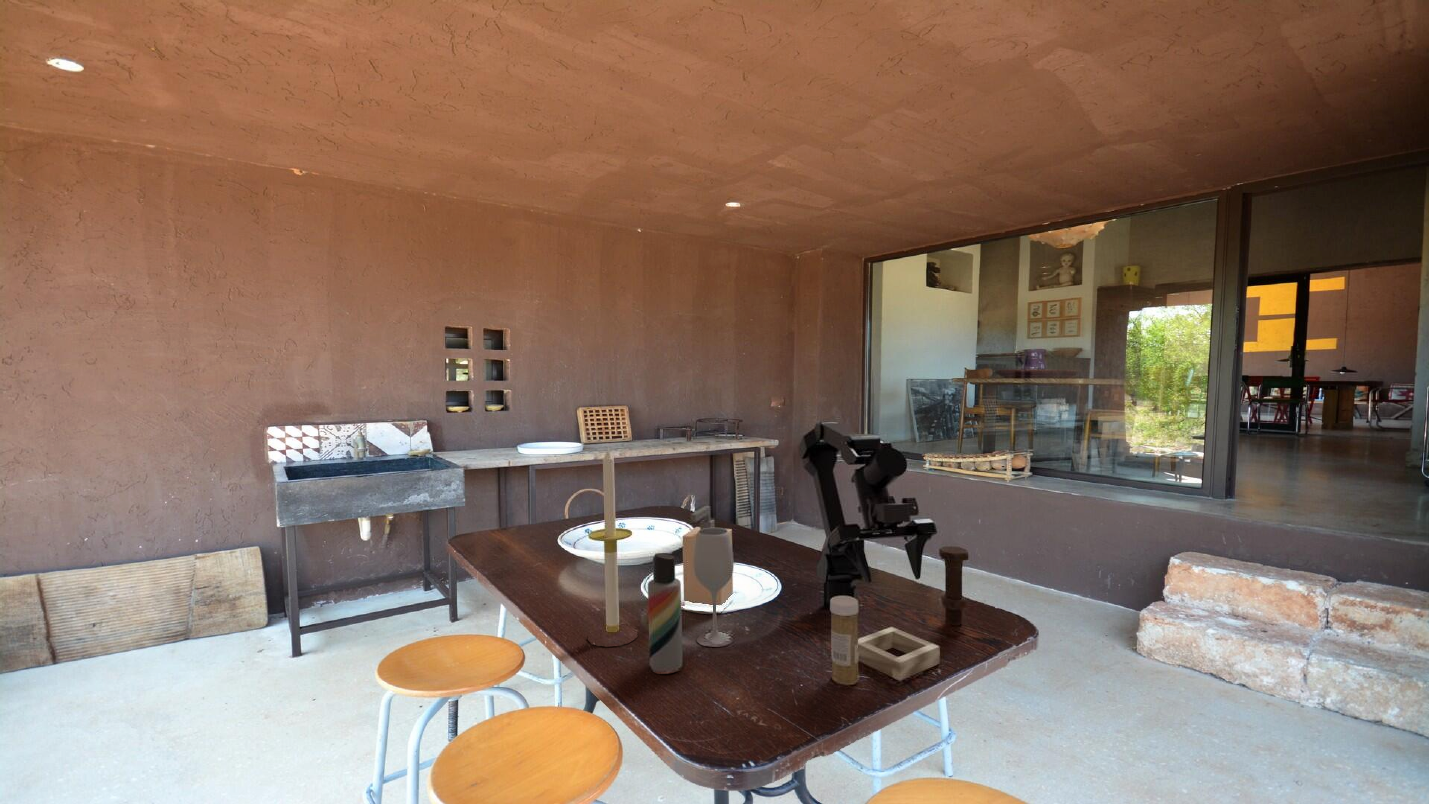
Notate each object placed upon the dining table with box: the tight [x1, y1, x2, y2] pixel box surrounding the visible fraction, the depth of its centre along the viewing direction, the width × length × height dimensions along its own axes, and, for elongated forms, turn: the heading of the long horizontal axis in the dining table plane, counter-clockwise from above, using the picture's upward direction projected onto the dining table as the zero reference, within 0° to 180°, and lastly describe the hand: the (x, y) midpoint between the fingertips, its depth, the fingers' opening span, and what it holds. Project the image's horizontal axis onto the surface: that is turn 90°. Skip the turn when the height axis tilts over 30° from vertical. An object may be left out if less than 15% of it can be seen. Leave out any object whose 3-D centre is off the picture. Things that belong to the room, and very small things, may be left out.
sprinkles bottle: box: [829, 596, 860, 686], centre depth 103 cm, size 5×5×14 cm
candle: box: [587, 448, 633, 632], centre depth 121 cm, size 10×10×38 cm
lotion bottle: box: [647, 552, 683, 671], centre depth 108 cm, size 6×6×20 cm
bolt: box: [938, 545, 969, 626], centre depth 125 cm, size 6×5×15 cm
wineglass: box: [694, 527, 735, 644], centre depth 119 cm, size 8×8×21 cm
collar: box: [858, 626, 941, 682], centre depth 110 cm, size 10×10×3 cm
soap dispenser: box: [682, 505, 734, 605], centre depth 136 cm, size 13×9×22 cm
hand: (894, 581), depth 110 cm, fingers open, 9 cm apart
